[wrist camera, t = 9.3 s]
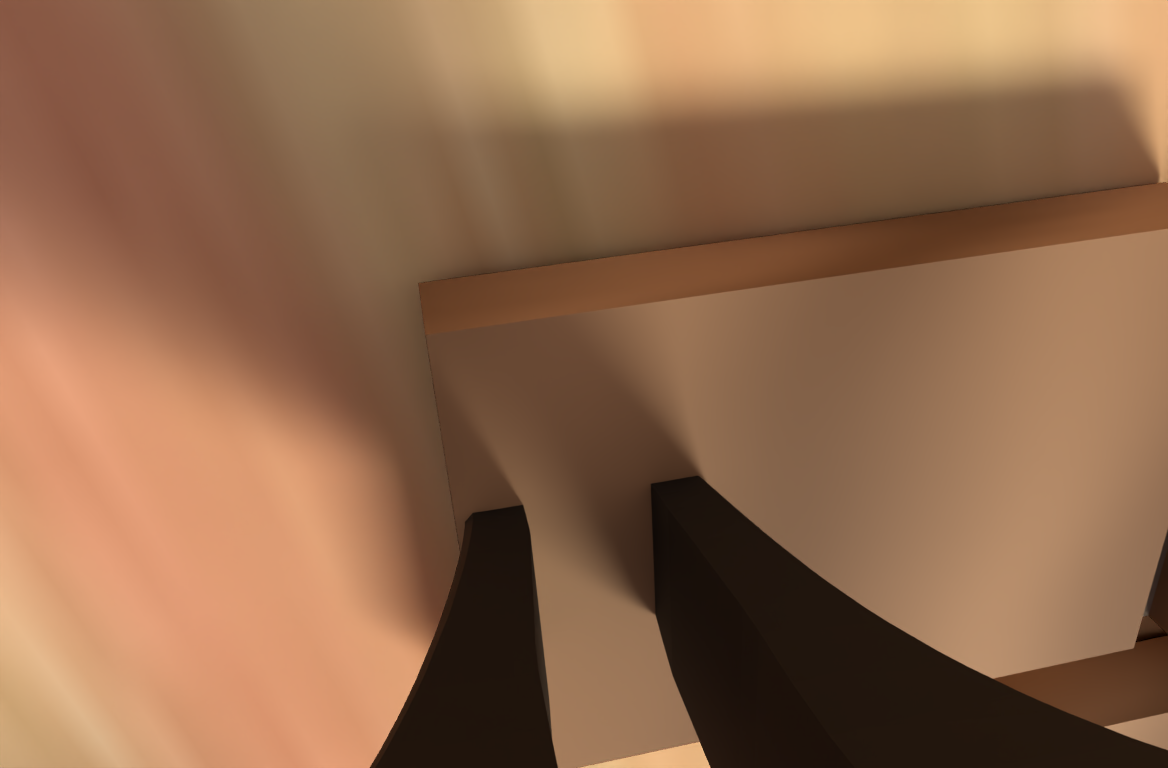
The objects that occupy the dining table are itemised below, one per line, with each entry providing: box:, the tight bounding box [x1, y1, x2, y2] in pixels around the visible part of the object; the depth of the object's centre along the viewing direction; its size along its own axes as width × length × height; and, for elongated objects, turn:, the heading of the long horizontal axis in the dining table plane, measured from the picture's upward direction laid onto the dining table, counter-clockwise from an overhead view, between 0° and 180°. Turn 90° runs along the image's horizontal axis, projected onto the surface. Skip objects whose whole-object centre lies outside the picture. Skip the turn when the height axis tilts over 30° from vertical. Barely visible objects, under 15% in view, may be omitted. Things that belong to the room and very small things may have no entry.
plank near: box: [418, 182, 1168, 768], centre depth 13 cm, size 10×7×2 cm
